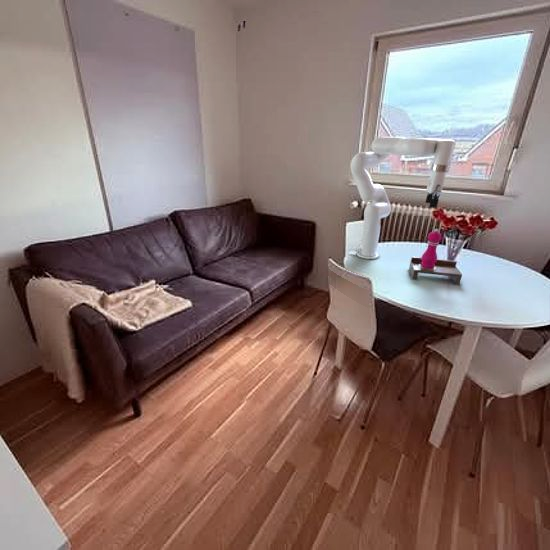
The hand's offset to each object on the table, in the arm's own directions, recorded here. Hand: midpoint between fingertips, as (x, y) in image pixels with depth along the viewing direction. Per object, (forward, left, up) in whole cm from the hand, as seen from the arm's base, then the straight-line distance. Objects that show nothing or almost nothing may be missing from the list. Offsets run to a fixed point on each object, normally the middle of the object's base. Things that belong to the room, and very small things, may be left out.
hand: (430, 205), depth 152 cm
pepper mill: (+4, -6, -30) cm, 31 cm away
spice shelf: (+8, -5, -36) cm, 37 cm away
